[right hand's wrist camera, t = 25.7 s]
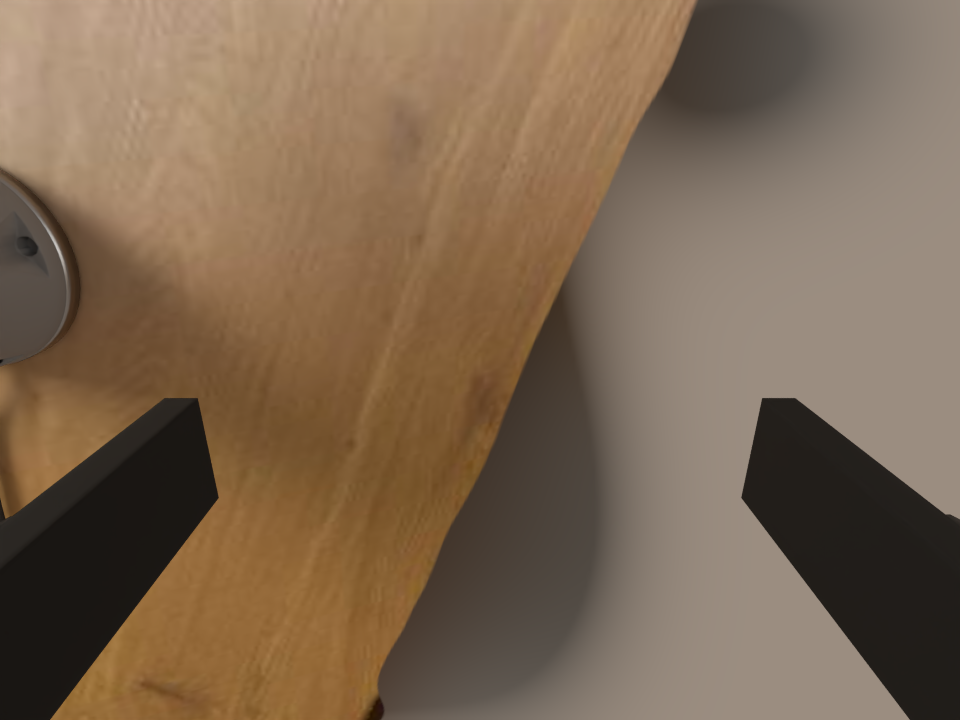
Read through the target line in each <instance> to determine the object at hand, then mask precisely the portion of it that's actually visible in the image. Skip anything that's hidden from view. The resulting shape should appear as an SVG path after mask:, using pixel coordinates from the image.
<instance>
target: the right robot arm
mask: <svg viewBox="0 0 960 720" xmlns="http://www.w3.org/2000/svg"><path fill="white" fill-rule="evenodd" d="M79 298H80V278H79V272H78V267H77V263H76V259H75V256H74V253H73V251H72V248H71V246H70V243H69V241H68V239H67V237H66V235H65V233H64V232H63V230H62V228H61V227H60V225H59V224H58V222H57V221H56V219H55V218H54V216H53V215H52V214H51V212H50V211H49V210H48V209H47V207H46V206H45V205H44V204H43V203H42V202H41V201H40V200H39V199H38V198H37V197H36V196H35V195H34V194H33V193H32V192H31V191H30V190H29V189H28V188H26V187H25V186H24V185H23V184H22V183H20V182H19V181H18V180H16V179H15V178H13V177H12V176H11V175H9V174H7V173H6V172H4V171H2V170H1V169H0V366H3V365H7V364H11V363H15V362H18V361H22V360H24V359H27V358H29V357H31V356H34V355H36V354H38V353H40V352H42V351H44V350H46V349H48V348H50V347H51V346H53V345H54V344H55V343H57V342H58V341H59V340H60V339H61V338H62V337H63V336H64V334H65V333H66V332H67V331H68V329H69V328H70V326H71V324H72V322H73V320H74V318H75V315H76V312H77V309H78V305H79ZM218 498H219V497H218V493H217V488H216V483H215V478H214V473H213V469H212V464H211V459H210V454H209V450H208V445H207V440H206V435H205V431H204V426H203V421H202V416H201V412H200V407H199V402H198V398H164V399H163V400H162V401H161V402H159V403H158V404H157V405H155V406H154V407H153V408H152V409H150V410H149V411H148V412H146V413H145V414H144V415H142V416H141V417H140V418H139V419H137V420H136V421H135V422H133V423H132V424H131V425H130V426H128V427H127V428H126V429H124V430H123V431H122V432H121V433H119V434H118V435H117V436H115V437H114V438H113V439H112V440H110V441H109V442H108V443H106V444H105V445H104V446H102V447H101V448H100V449H99V450H97V451H96V452H95V453H93V454H92V455H91V456H90V457H88V458H87V459H86V460H84V461H83V462H82V463H81V464H79V465H78V466H77V467H75V468H74V469H73V470H72V471H70V472H69V473H68V474H66V475H65V476H64V477H63V478H61V479H60V480H59V481H57V482H56V483H55V484H53V485H52V486H51V487H50V488H48V489H47V490H46V491H44V492H43V493H42V494H41V495H39V496H38V497H37V498H35V499H34V500H33V501H32V502H30V503H29V504H28V505H26V506H25V507H24V508H23V509H21V510H20V511H19V512H17V513H16V514H15V515H13V516H10V517H9V518H7V519H5V516H4V512H3V508H2V504H1V500H0V720H50V719H51V718H52V716H53V715H54V714H55V713H56V711H57V710H58V709H59V707H60V706H61V705H62V703H63V702H64V701H65V699H66V698H67V697H68V695H69V694H70V693H71V691H72V690H73V689H74V688H75V686H76V685H77V684H78V682H79V681H80V680H81V678H82V677H83V676H84V674H85V673H86V672H87V670H88V669H89V668H90V666H91V665H92V664H93V662H94V661H95V660H96V659H97V657H98V656H99V655H100V653H101V652H102V651H103V649H104V648H105V647H106V645H107V644H108V643H109V641H110V640H111V639H112V637H113V636H114V635H115V634H116V632H117V631H118V630H119V628H120V627H121V626H122V624H123V623H124V622H125V620H126V619H127V618H128V616H129V615H130V614H131V612H132V611H133V610H134V609H135V607H136V606H137V605H138V603H139V602H140V601H141V599H142V598H143V597H144V595H145V594H146V593H147V591H148V590H149V589H150V587H151V586H152V585H153V584H154V582H155V581H156V580H157V578H158V577H159V576H160V574H161V573H162V572H163V570H164V569H165V568H166V566H167V565H168V564H169V562H170V561H171V560H172V559H173V557H174V556H175V555H176V553H177V552H178V551H179V549H180V548H181V547H182V545H183V544H184V543H185V541H186V540H187V539H188V537H189V536H190V535H191V534H192V532H193V531H194V530H195V528H196V527H197V526H198V524H199V523H200V522H201V520H202V519H203V518H204V516H205V515H206V514H207V512H208V511H209V510H210V509H211V507H212V506H213V505H214V503H215V502H216V501H217V499H218ZM742 499H743V501H744V502H745V503H746V504H747V506H748V507H749V509H750V510H751V511H752V512H753V514H754V515H755V516H756V518H757V519H758V520H759V522H760V523H761V524H762V526H763V527H764V528H765V530H766V531H767V532H768V534H769V535H770V536H771V537H772V539H773V540H774V541H775V543H776V544H777V545H778V547H779V548H780V549H781V551H782V552H783V553H784V555H785V556H786V557H787V559H788V560H789V561H790V562H791V564H792V565H793V566H794V568H795V569H796V570H797V572H798V573H799V574H800V576H801V577H802V578H803V580H804V581H805V582H806V584H807V585H808V586H809V587H810V589H811V590H812V591H813V593H814V594H815V595H816V597H817V598H818V599H819V601H820V602H821V603H822V605H823V606H824V607H825V609H826V610H827V611H828V612H829V614H830V615H831V616H832V618H833V619H834V620H835V622H836V623H837V624H838V626H839V627H840V628H841V630H842V631H843V632H844V634H845V635H846V636H847V637H848V639H849V640H850V641H851V643H852V644H853V645H854V647H855V648H856V649H857V651H858V652H859V653H860V655H861V656H862V657H863V659H864V660H865V661H866V662H867V664H868V665H869V666H870V668H871V669H872V670H873V672H874V673H875V674H876V676H877V677H878V678H879V680H880V681H881V682H882V684H883V685H884V686H885V688H886V689H887V690H888V691H889V693H890V694H891V695H892V697H893V698H894V699H895V701H896V702H897V703H898V705H899V706H900V707H901V709H902V710H903V711H904V713H905V714H906V715H907V716H908V718H909V719H910V720H960V519H958V518H956V517H954V516H952V515H945V514H944V513H943V512H941V511H940V510H939V509H937V508H936V507H935V506H934V505H932V504H931V503H930V502H928V501H927V500H926V499H924V498H923V497H922V496H921V495H919V494H918V493H917V492H916V491H914V490H913V489H912V488H910V487H909V486H908V485H907V484H905V483H904V482H903V481H901V480H900V479H899V478H897V477H896V476H895V475H894V474H892V473H891V472H890V471H888V470H887V469H886V468H885V467H883V466H882V465H881V464H879V463H878V462H877V461H876V460H874V459H873V458H872V457H870V456H869V455H868V454H867V453H865V452H864V451H863V450H861V449H860V448H859V447H857V446H856V445H855V444H854V443H852V442H851V441H850V440H848V439H847V438H846V437H845V436H843V435H842V434H841V433H839V432H838V431H837V430H835V429H834V428H833V427H832V426H830V425H829V424H828V423H827V422H825V421H824V420H823V419H821V418H820V417H819V416H818V415H816V414H815V413H814V412H812V411H811V410H810V409H808V408H807V407H806V406H805V405H803V404H802V403H801V402H799V401H798V400H797V399H795V398H762V402H761V407H760V412H759V416H758V421H757V426H756V431H755V435H754V440H753V445H752V450H751V454H750V459H749V464H748V469H747V473H746V478H745V483H744V488H743V493H742Z"/></svg>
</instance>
